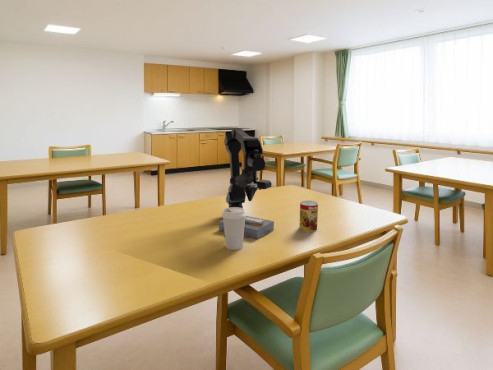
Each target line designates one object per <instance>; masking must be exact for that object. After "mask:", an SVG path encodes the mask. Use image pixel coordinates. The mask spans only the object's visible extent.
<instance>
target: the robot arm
mask: <svg viewBox="0 0 493 370" xmlns="http://www.w3.org/2000/svg"><path fill="white" fill-rule="evenodd" d="M223 140H224V143H223V144H224V146H225V149H226V152H227V153H228V155H229V167H230V170H229V171H230V178H229V184H230V185H229V187H228V191H227V194H226V197H225V202H226V203H227V204H228V208H230V207H239V208H243V209H244V206H243V204H245V202H246V198H247V200H248V202H252V201H253V199H254V197H255V193H257V190H258V189H261V190H267V189H270V188H272V182H271V180H268V179H261V180H259V177H258V172H260V171H262V170H264V169H265V167H266V160H265V159H264V158H263V157H262V155H264V154H263V153H264V152H263V151H264V150H263V146H262V144H261V141H260V139H259V138H258V137H257V136H250V135H249V134H248V133H246V132H245V131H244V129H243V128H234V129H231V131H230V132H229V133H227V134H226V135H225V138H224V139H223ZM241 150H242V153H243V169H241V170H240V152H241Z"/></svg>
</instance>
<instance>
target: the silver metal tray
mask: <svg viewBox="0 0 493 370" xmlns="http://www.w3.org/2000/svg"><path fill="white" fill-rule="evenodd" d="M246 217H249V218H254V219H259V220H264V222H263V223H261V224H258V223H253V222H248V221H245V226H244V237H246V238H251V239H253V240H258V239H260V238H262V237H264V236H265V235H268V234H269V233H271V232H273V231H274V230H275V221H274V220H269V219H263V218H259V217H254V216H249V215H247V216H246ZM218 231H221V232H224V233H225V231H224V221H223V219H221V220H220V221H218Z"/></svg>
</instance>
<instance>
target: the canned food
mask: <svg viewBox="0 0 493 370" xmlns="http://www.w3.org/2000/svg"><path fill="white" fill-rule="evenodd" d="M318 213H319V203H318V202H317V201H314V200H302V201H300V203H299V230H300V231H302V232H316V231H317V230H318V218H319V217H318V216H319V215H318Z"/></svg>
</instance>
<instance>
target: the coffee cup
mask: <svg viewBox="0 0 493 370" xmlns="http://www.w3.org/2000/svg"><path fill="white" fill-rule="evenodd" d="M246 216H248V215H247V212H246V211H245V209H244V207H243V208H239V207H230V208H229V207H226V208H224V209H223V212H221V217H222V220H223V221H224V231H225V232H224V231H223V232H224V239H225V248H226V249H227V250H230V251H239V250H241V249H243V247H244V237H245V236H244V226H245V217H246Z"/></svg>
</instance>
